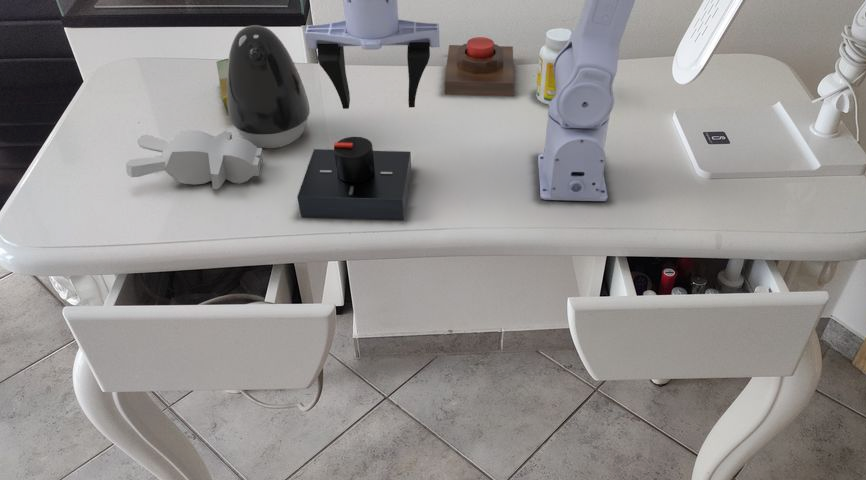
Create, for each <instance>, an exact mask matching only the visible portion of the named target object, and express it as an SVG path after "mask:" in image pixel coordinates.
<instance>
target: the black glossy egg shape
mask: <svg viewBox="0 0 866 480" xmlns="http://www.w3.org/2000/svg"><path fill="white" fill-rule="evenodd" d="M228 58H229V59H228ZM228 58H227V59H228V69H227V104H228V113H229V116H228V118H229V121H230V123H231V124H232V126H233V127H234V128H235V130H236V131H237V132H238V134H239V135H240V136H241V138H244V139H246V140H248V141H250V142H251V143H252V144H253V145H255V146H256V147H257V148H262V149H263V148H264V149H277V148H282V147H285V146H288V145H290V144H292V143H294V142H295V141H297V140H298V139H299V138H300V137H301V136H302V134H303V133H304V131H305V129H306V127H307V123H308V118H309V116H310V112H311V111H310V109H311V108H310V102H309V99H308V96H307V92H306V90H305V86H304V83H303V81H302V78H301V76H300V74H299V71H298V69H297V67H296V65H295V62H294V60H293V58H292V57H291V54H290V52H289V51H288V49H287V48H286V46H285V45H284V43H283V42H282V41H281V39H280V38H279V37H278V35H276V33H274V32H273V31H272V30H271V29H270V28H268V27H266V26H264V25H263V26H262V25H258V24H256V25H255V24H254V25H248V26H245V27H243V28H242V29H241V30H239V31H238V32H237V34H236V35H235V36H234V39H233V41H232V43H231V47H230V49H229V54H228ZM228 113H227V114H228Z"/></svg>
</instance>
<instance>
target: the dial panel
mask: <svg viewBox="0 0 866 480" xmlns="http://www.w3.org/2000/svg"><path fill="white" fill-rule="evenodd" d="M373 157H374V168H375V173H374V175H373V177H372V178H370V179H369V180H367V181H364V182H361V183H348V182H345V181H343V180H341V179H340V178H339V177H338V175H337V168H336V161H335V153H334V149H328V148H327V149H326V148H324V149H323V148H314V149H313V151H312V154H311V157H310V160H309V162H308V165H307V168H306V170H305V174H304V176H303V179H302V182H301V185H300V188H299V191H298V192H297V193H298V194H297V197H296V199H297V202H298V208H299V213H300V217H301V218H312V219H313V218H314V219H347V220H377V221H379V220H380V221H383V220H384V221H385V220H386V221H404V220H405V216H406V209H407V204H408V197H409V192H410V191H409V190H410V186H411V178H412V172H413V168H412V167H413V166H412V152H411V151H402V150H399V151H398V150H373Z"/></svg>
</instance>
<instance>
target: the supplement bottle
mask: <svg viewBox="0 0 866 480" xmlns="http://www.w3.org/2000/svg"><path fill="white" fill-rule="evenodd" d="M571 33H572V30H571V29H568V28H562V27H557V28H552V29H549V30H547V32H546V34H545V41H544V42H545V44H544V45H543V46H542V47H541V48H540V50H539V55H538V64H537V76H536V86H535V96H536V98H537V100H538V101H539V102H540V103H543V104H545V105H548V106H549V103H550V102H551V100H552V99H553V98H554V97H555V95H556V81H555V76H554V73H553V64H554V61H555V58H556V56H557V55H558V53H559V52H560V51H561V50H562V49H563V48H564V47H565V45H566V44H567V43H568V41H569V39H570V36H571Z"/></svg>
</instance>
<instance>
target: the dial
mask: <svg viewBox="0 0 866 480" xmlns="http://www.w3.org/2000/svg"><path fill="white" fill-rule="evenodd" d="M373 147H374V146H373V143H372V142H371V141H370V140H369V139H367V138H365V137H362V136H348V137H344V138H341V139H339V140H338V141H336V142H334V143H333V150H334V153H335V161H336V168H337V175H338V177H339V178H340V179H341V180H343V181H345V182H348V183H361V182H364V181H367V180H369V179H370V178H372V177H373V175H374V173H375V168H374V157H373V151H374V148H373Z"/></svg>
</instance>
